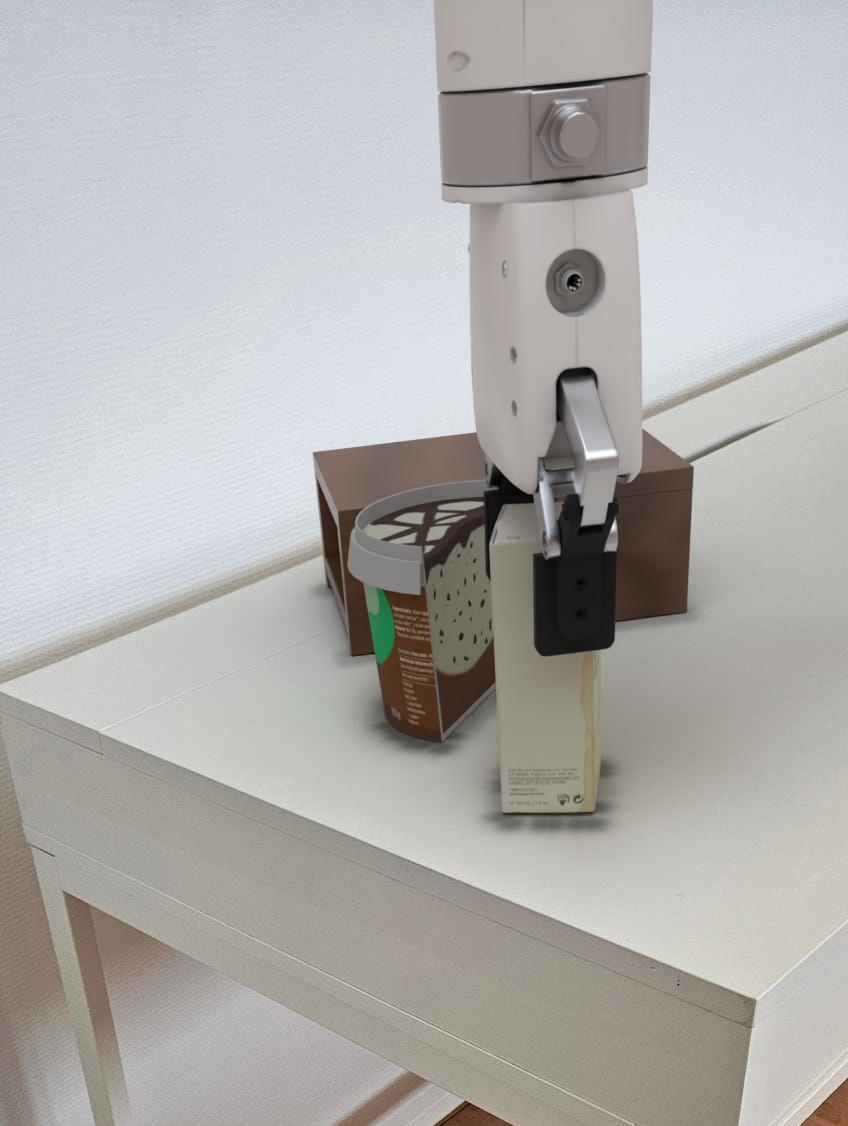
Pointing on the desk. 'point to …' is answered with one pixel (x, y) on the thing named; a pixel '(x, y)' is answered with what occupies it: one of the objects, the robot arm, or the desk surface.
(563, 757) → the cosmetic box
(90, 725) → the desk surface
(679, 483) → the shelf
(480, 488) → the food container
